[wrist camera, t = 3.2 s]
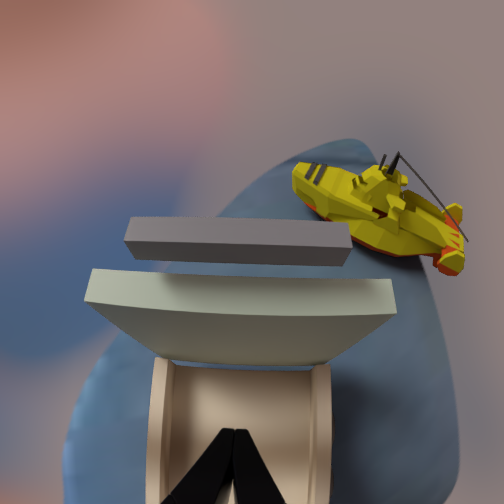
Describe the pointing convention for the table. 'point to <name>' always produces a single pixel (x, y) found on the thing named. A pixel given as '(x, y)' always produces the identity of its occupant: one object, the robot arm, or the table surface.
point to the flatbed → (242, 425)
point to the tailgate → (241, 292)
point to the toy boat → (384, 212)
